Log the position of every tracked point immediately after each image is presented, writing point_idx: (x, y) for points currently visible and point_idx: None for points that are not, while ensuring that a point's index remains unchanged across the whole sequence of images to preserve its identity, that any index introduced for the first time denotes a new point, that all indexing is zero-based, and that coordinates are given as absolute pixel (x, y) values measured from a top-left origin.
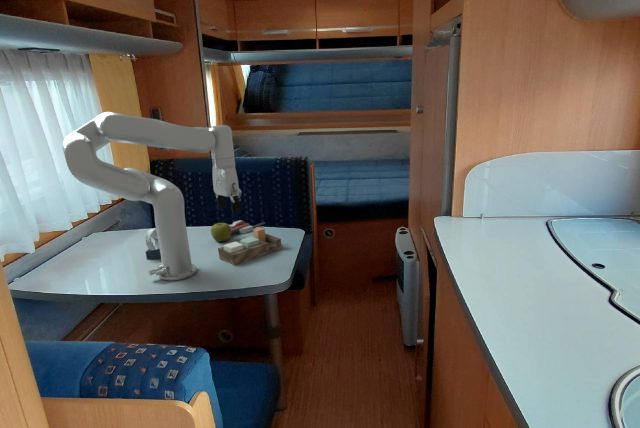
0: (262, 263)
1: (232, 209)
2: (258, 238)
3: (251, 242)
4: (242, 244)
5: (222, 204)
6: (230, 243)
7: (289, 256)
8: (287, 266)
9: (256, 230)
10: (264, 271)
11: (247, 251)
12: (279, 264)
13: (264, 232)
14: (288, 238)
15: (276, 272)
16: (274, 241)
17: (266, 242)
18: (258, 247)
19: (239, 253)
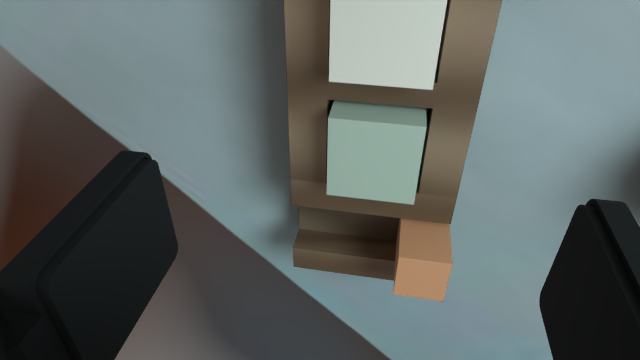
0: (210, 65)
1: (87, 187)
2: (400, 222)
3: (328, 143)
4: (400, 111)
5: (574, 300)
6: (432, 41)
7: (201, 191)
8: (101, 113)
9: (414, 259)
10: (104, 3)
11: (288, 64)
12: (144, 107)
13: (394, 274)
14: (388, 315)
15: (60, 35)
16: (317, 242)
17: (308, 205)
18: (290, 142)
19: (285, 2)
